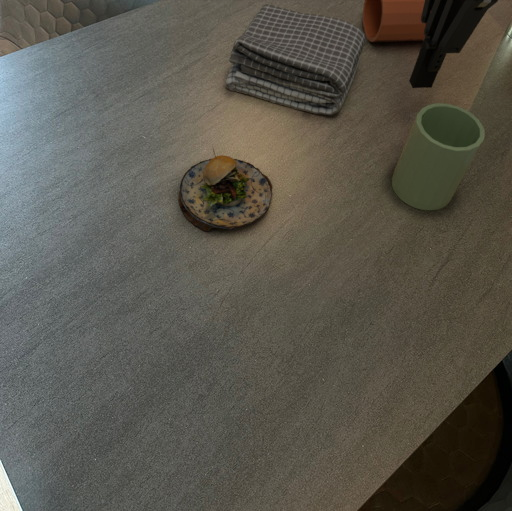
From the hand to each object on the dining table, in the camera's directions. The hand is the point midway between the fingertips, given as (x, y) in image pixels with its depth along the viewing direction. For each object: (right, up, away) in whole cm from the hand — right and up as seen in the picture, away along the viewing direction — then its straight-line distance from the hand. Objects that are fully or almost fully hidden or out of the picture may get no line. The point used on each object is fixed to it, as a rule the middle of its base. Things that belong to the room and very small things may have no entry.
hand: (420, 84), depth 83 cm
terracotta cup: (+8, +17, +20) cm, 28 cm away
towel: (-16, +5, +13) cm, 21 cm away
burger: (-26, -16, -3) cm, 30 cm away
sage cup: (+1, -13, +2) cm, 14 cm away
